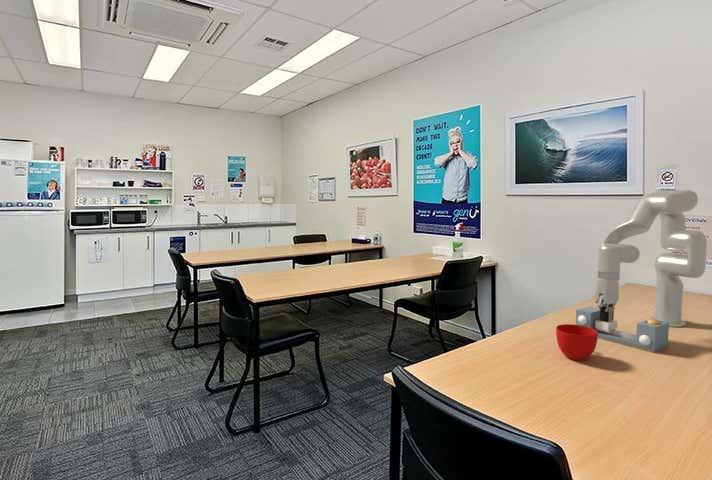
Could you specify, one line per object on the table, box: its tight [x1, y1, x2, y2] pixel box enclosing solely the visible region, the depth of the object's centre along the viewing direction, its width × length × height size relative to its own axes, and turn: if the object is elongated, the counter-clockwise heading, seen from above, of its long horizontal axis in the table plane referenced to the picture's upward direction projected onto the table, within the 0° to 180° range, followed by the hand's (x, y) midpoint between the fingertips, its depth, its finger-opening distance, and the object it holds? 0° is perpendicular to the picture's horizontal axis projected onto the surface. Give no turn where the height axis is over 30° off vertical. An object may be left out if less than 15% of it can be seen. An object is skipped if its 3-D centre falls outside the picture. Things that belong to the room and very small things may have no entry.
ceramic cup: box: [555, 323, 599, 362], centre depth 145 cm, size 13×17×10 cm
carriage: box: [595, 305, 618, 333], centre depth 165 cm, size 7×5×10 cm
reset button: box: [647, 318, 659, 325], centre depth 151 cm, size 4×4×3 cm
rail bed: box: [575, 305, 670, 354], centre depth 161 cm, size 12×29×10 cm, turn 32°
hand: (606, 319), depth 165 cm, fingers closed on carriage, 3 cm apart
